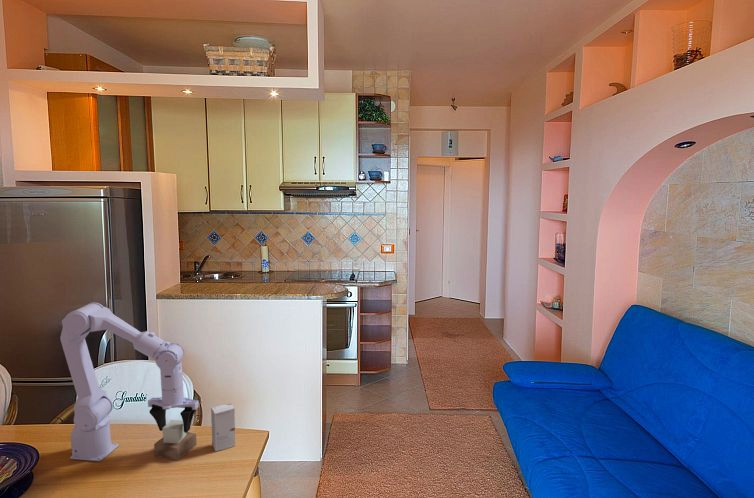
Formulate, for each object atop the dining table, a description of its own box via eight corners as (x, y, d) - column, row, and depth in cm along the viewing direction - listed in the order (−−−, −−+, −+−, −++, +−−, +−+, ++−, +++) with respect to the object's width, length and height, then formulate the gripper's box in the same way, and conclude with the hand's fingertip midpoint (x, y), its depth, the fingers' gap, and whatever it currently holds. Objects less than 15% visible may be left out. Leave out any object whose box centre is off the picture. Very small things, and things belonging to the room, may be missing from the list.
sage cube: (163, 442, 129) (162, 428, 128) (172, 434, 133) (171, 420, 133) (178, 443, 129) (177, 429, 128) (186, 435, 133) (185, 421, 132)
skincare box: (215, 452, 131) (213, 414, 129) (211, 444, 134) (209, 407, 133) (236, 445, 134) (235, 408, 132) (232, 438, 138) (230, 402, 136)
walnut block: (155, 456, 129) (154, 443, 128) (174, 441, 137) (173, 429, 136) (178, 461, 127) (177, 448, 126) (196, 445, 134) (196, 433, 134)
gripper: (140, 391, 126) (143, 435, 127) (188, 394, 124) (191, 439, 126) (155, 380, 132) (157, 422, 134) (201, 383, 131) (203, 425, 133)
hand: (174, 429), depth 131 cm, fingers open, 7 cm apart
